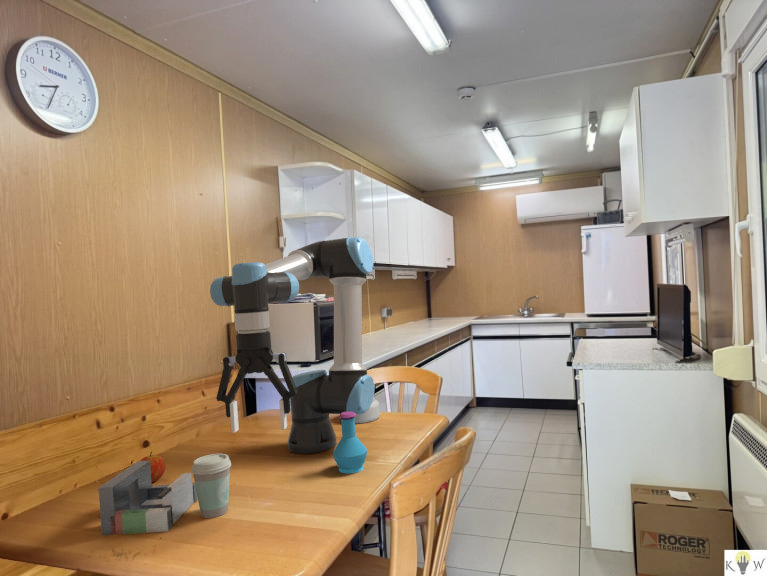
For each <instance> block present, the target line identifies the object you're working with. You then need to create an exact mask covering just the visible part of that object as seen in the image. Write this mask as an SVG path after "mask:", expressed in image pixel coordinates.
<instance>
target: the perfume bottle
mask: <svg viewBox="0 0 767 576" xmlns="http://www.w3.org/2000/svg"><path fill="white" fill-rule="evenodd" d="M354 416H356V414H355V413H354V412H350V411H349V412H343V413H341V414H338V417H339V419H340V421H341V436H342V437H341V438H340V439H339V442H338V443H337V444H336V447H335V448H334V450H333V452H332V456H333V459H334V461H335V463H336V466H337V467H338V472H339V473H342V474H355V473H359V472H362V471H363V470H364V464H365V463H366V458H367V454H368V448H367V447H366V446H365V445H364V443H363V442H361V441H360V439H359V437H358V436H356V435H357V434H356V424H355V420H354V419H355V417H354ZM340 417H341V418H340Z"/></svg>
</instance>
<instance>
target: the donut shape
mask: <svg viewBox="0 0 767 576" xmlns="http://www.w3.org/2000/svg"><path fill="white" fill-rule="evenodd" d="M380 409H381V408H380V402H379V401H378V400H377V399H375V398H373V401H372V404H371V406H370V408H369V409H368V410H367V411H366V412H365V413H364V414H361V415H356V416H354V417H355V419H354V420H355V425H356V424H357V425H358V424H359V425H360V424H366V423H371V422H374V421H376V420H378V419H379V418H380V417H381V410H380ZM340 418H341V417H339V419H340Z"/></svg>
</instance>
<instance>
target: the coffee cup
mask: <svg viewBox="0 0 767 576" xmlns="http://www.w3.org/2000/svg"><path fill="white" fill-rule="evenodd" d="M231 462H232V461H231V460H230V457H229V455H228V454H225V453H211V454H207V455H203V456H200V457H198V458H196V459H194V461H193V464H192V465H191V470H190V471H191V472H190V473H192V477H193V481H194V483H195V486H196V492H197V502H198V505H199V506H198V507H199V511H200V515H201V517H202V518H205V519H213V518H217V517H221V516H224V515H225V514H226V513H227V512H228V511H229V501H230V499H229V496H230V478H231V475H230V474H231V467H232V463H231Z"/></svg>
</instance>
